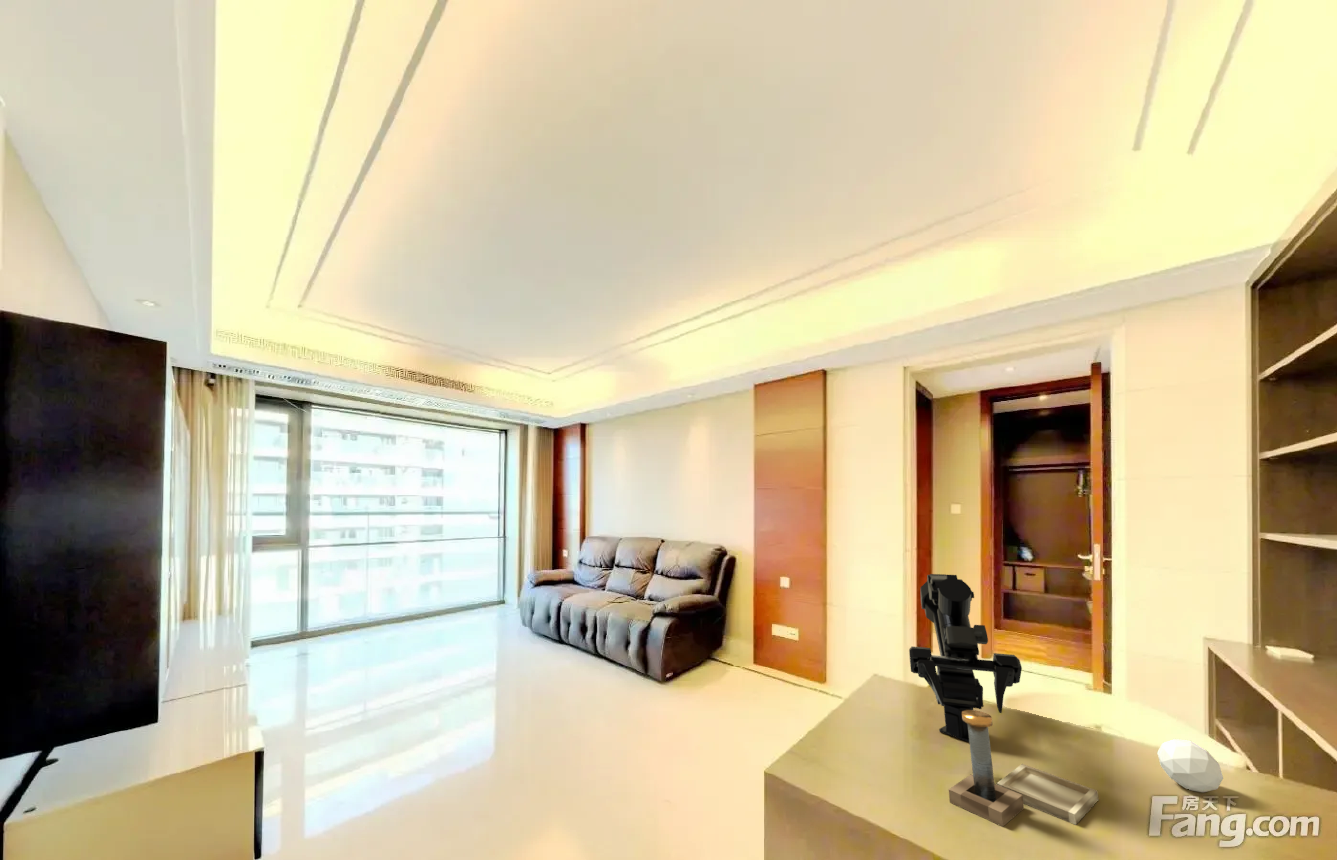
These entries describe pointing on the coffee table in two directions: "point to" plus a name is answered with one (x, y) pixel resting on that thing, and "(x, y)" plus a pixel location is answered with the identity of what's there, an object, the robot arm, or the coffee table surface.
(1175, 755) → the geometric ball
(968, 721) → the pin
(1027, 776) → the tray
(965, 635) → the robot arm
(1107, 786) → the coffee table surface
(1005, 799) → the block
